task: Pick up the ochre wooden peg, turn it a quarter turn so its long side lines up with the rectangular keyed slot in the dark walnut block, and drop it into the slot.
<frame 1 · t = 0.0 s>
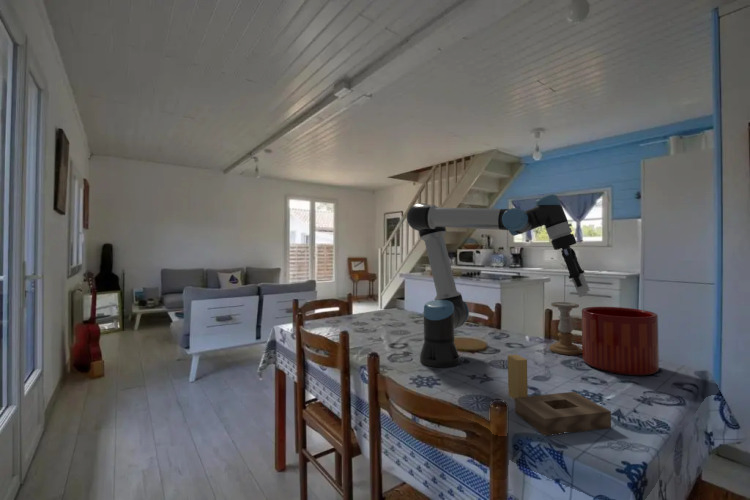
hand: (584, 293, 120), 28 cm above the table, fingers open, 13 cm apart
peg: (517, 398, 102), on the table
candle holder: (565, 351, 148), on the table
planter: (618, 366, 128), on the table
socket block: (560, 419, 88), on the table
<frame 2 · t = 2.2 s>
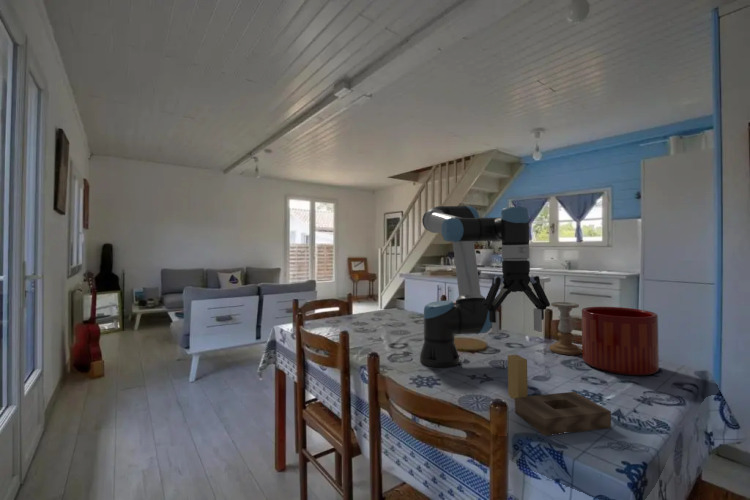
hand: (517, 332, 102), 19 cm above the table, fingers open, 13 cm apart
nothing on the table moved.
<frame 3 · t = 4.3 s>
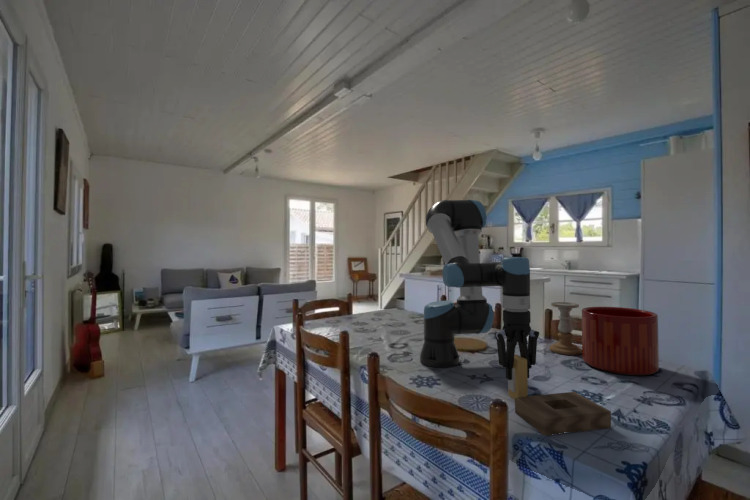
hand: (517, 389, 102), 3 cm above the table, fingers closed on peg, 3 cm apart
peg: (517, 398, 102), on the table, touching gripper
everything else where it was.
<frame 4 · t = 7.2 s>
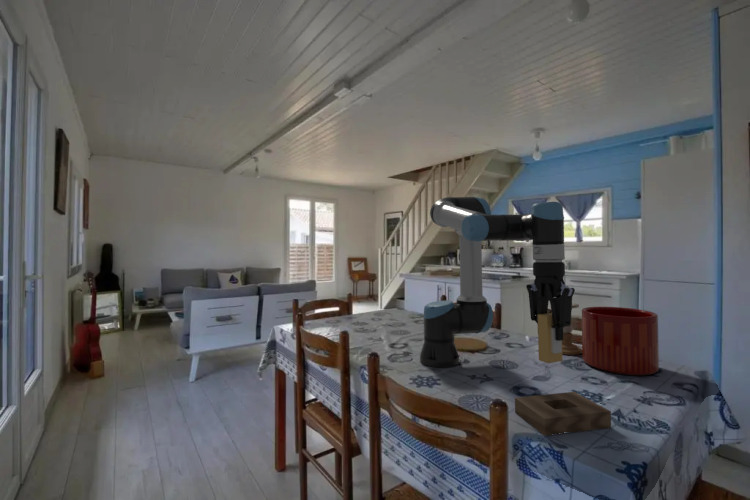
hand: (550, 350, 91), 17 cm above the table, fingers closed on peg, 3 cm apart
peg: (550, 360, 91), point 14 cm above the table, touching gripper
everything else where it was.
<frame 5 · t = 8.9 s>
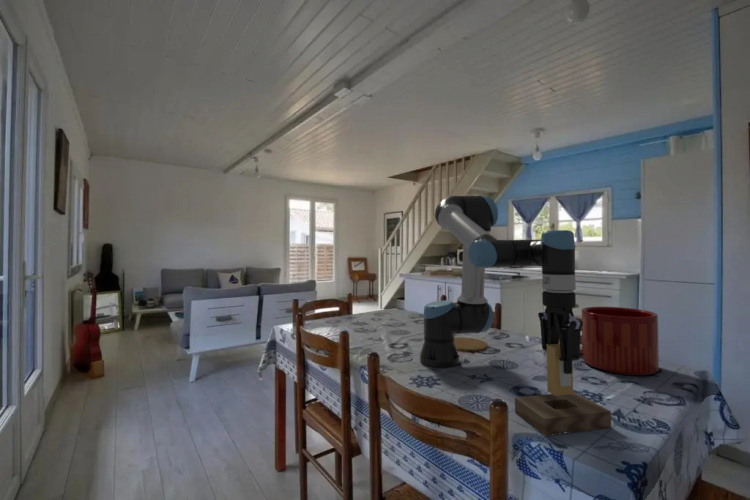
hand: (560, 382, 88), 10 cm above the table, fingers closed on peg, 3 cm apart
peg: (560, 392, 88), point 7 cm above the table, touching gripper
everything else where it was.
when the fingers open (6 cm above the table, at t = 10.2 s): peg drops 3 cm, resting in socket block.
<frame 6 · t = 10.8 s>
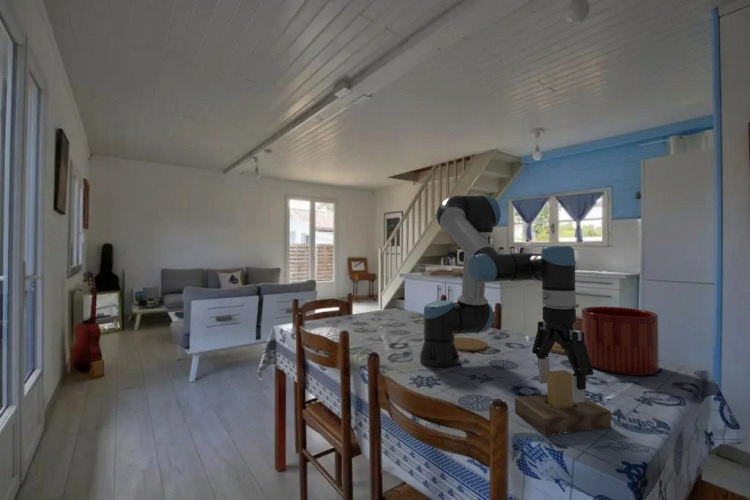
hand: (560, 391, 88), 7 cm above the table, fingers open, 11 cm apart
peg: (560, 419, 88), resting in socket block
everything else where it was.
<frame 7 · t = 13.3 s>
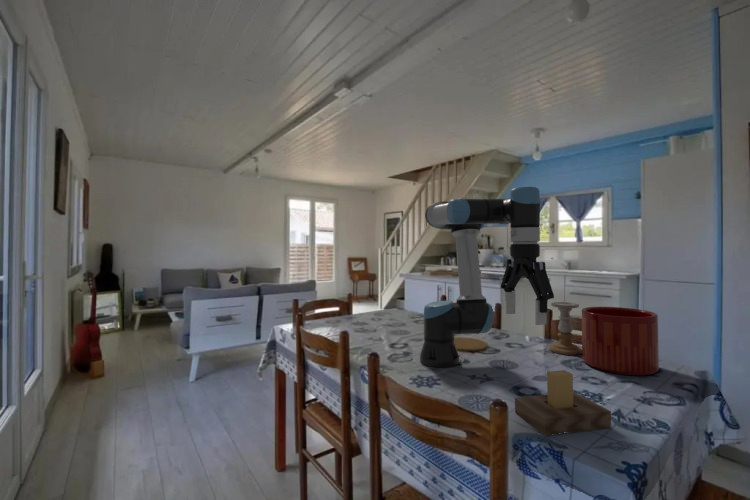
hand: (524, 318, 97), 24 cm above the table, fingers open, 13 cm apart
nothing on the table moved.
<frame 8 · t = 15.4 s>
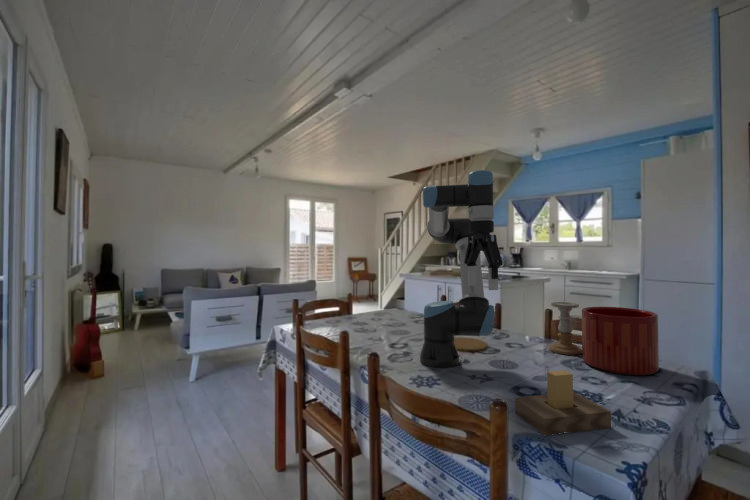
hand: (482, 287, 109), 32 cm above the table, fingers open, 13 cm apart
nothing on the table moved.
at the end: peg 0.0 cm off-centre on the socket block, point 0.0 cm above the socket block's base; peg tilted 0°; the gripper is holding nothing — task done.
